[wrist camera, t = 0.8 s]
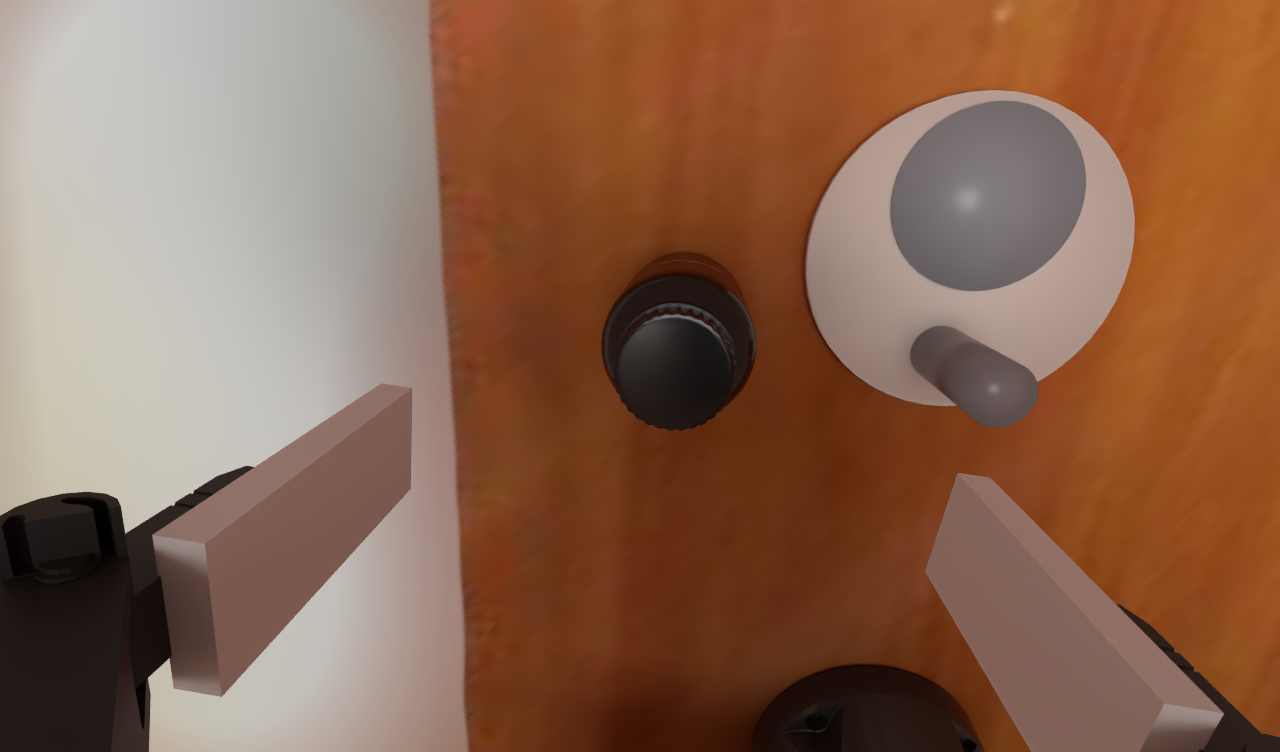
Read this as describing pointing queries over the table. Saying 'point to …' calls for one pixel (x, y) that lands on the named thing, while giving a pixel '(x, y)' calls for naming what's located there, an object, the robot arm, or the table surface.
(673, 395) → the supplement bottle
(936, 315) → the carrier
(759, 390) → the table surface
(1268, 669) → the table surface
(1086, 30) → the table surface
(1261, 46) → the table surface
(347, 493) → the robot arm
